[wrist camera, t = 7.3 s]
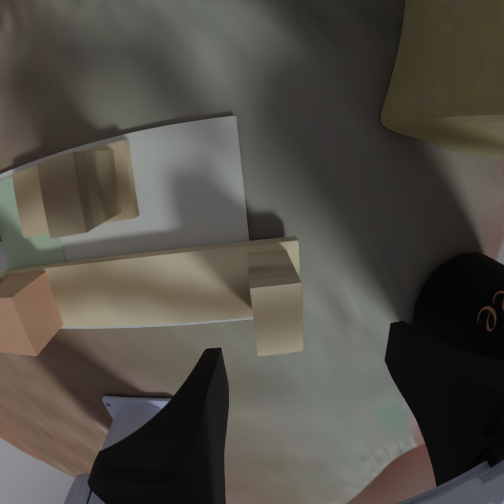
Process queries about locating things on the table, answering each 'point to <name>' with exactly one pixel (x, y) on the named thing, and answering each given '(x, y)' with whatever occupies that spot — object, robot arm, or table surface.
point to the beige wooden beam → (187, 289)
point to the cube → (27, 314)
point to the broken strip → (76, 191)
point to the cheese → (450, 76)
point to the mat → (149, 201)
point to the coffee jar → (465, 305)
